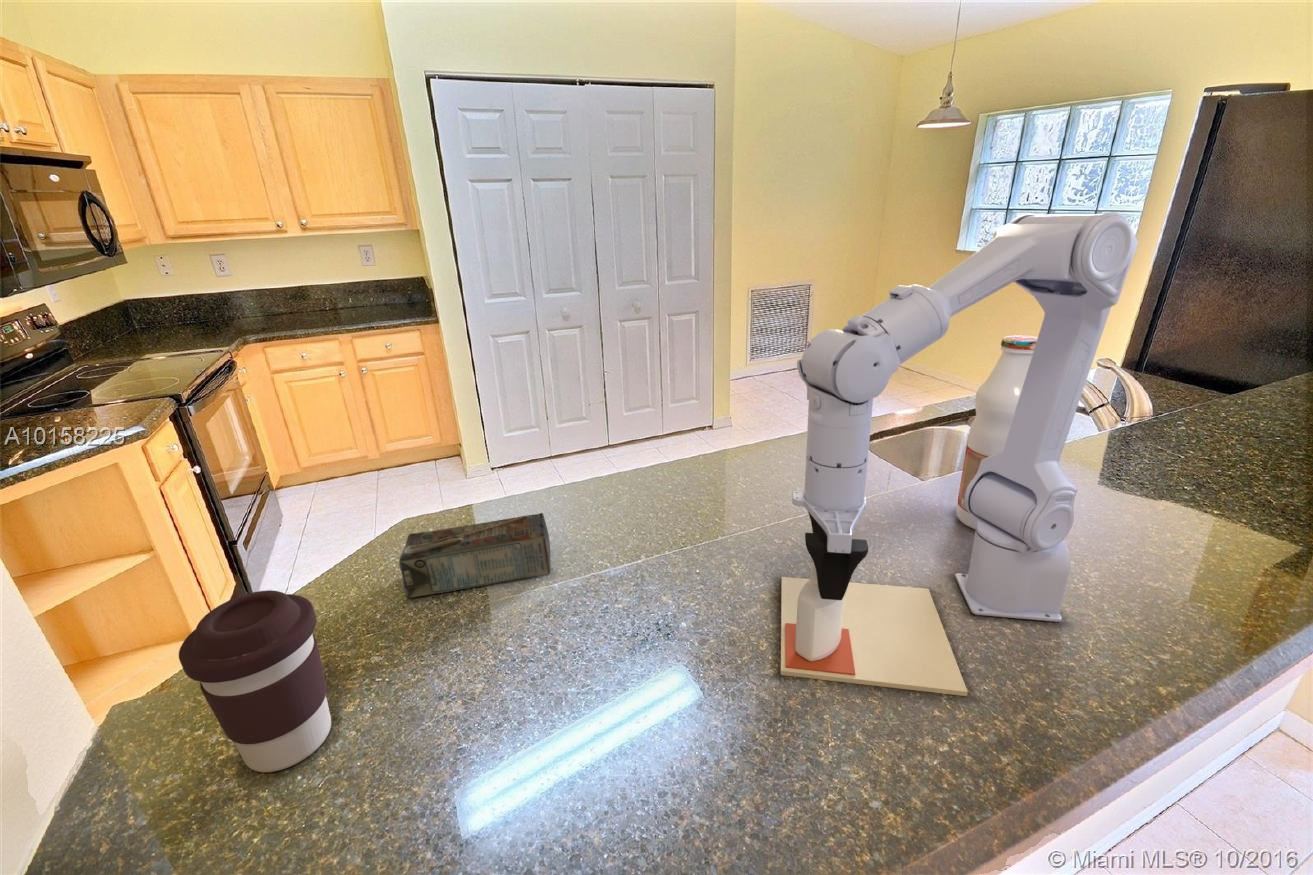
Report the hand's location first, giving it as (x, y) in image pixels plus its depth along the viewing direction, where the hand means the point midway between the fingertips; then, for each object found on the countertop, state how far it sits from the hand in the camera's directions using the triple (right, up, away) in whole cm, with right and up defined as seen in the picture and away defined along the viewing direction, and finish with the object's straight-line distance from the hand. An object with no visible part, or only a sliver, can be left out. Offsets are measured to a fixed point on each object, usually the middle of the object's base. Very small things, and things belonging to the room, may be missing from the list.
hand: (828, 575), depth 61 cm
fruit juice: (+33, +2, +27) cm, 43 cm away
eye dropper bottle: (0, -9, +2) cm, 9 cm away
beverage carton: (-43, -5, +20) cm, 47 cm away
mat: (+5, -8, +6) cm, 11 cm away
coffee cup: (-53, -15, -5) cm, 56 cm away
